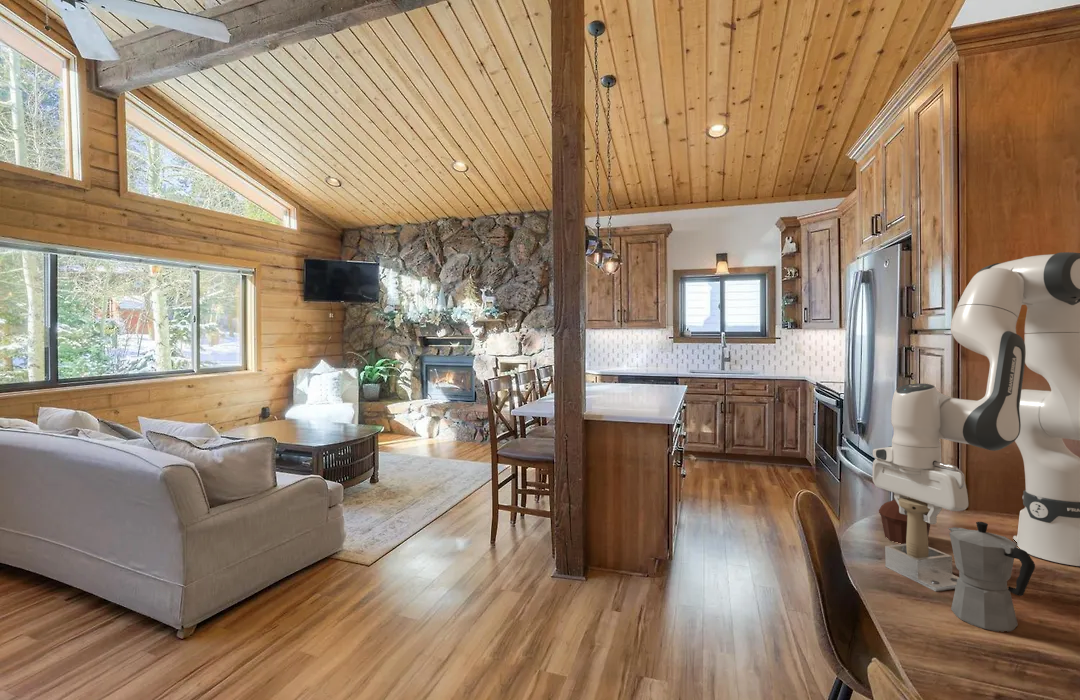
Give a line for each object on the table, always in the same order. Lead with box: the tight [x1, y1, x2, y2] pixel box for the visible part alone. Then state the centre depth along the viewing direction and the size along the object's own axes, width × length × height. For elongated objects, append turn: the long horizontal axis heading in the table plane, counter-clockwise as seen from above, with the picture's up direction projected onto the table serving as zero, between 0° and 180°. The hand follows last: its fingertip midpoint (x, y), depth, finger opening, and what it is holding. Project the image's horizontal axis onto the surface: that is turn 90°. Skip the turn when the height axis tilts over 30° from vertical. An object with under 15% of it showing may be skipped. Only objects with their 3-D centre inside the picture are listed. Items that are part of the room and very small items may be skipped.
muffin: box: [878, 499, 931, 544], centre depth 130 cm, size 12×11×10 cm
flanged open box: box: [884, 543, 959, 592], centre depth 110 cm, size 9×12×5 cm
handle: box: [899, 497, 930, 558], centre depth 112 cm, size 5×6×15 cm
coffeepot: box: [947, 521, 1036, 633], centre depth 92 cm, size 15×9×18 cm, turn 6°
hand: (917, 518), depth 112 cm, fingers open, 5 cm apart
